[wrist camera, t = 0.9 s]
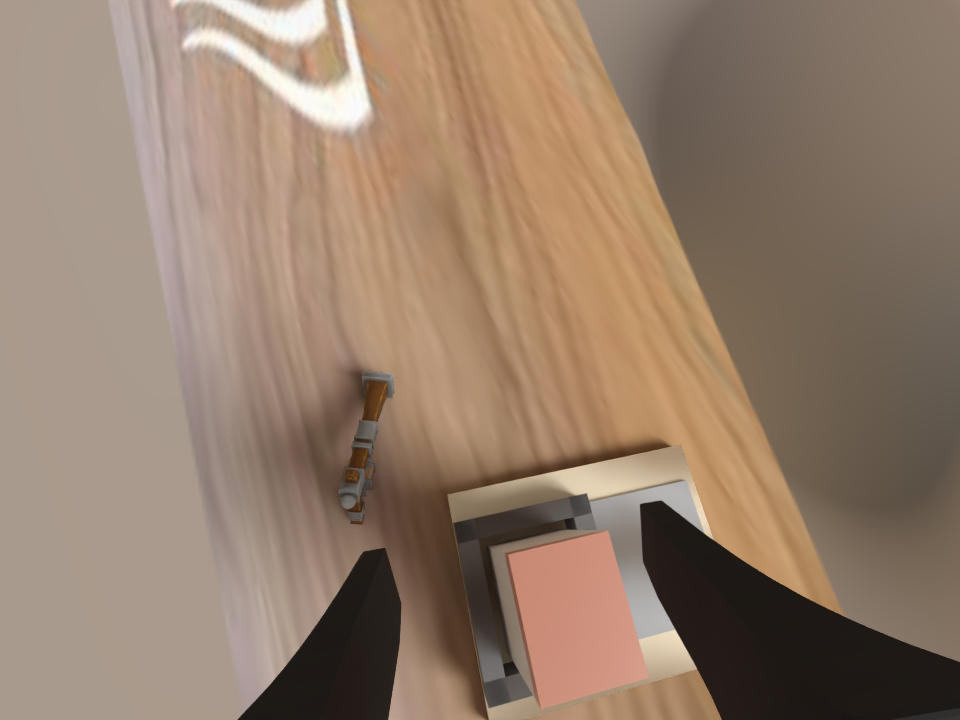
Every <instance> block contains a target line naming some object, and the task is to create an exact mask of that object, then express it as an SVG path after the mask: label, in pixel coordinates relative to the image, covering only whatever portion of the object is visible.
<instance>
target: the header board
mask: <svg viewBox="0 0 960 720" xmlns="http://www.w3.org/2000/svg"><path fill="white" fill-rule="evenodd" d="M447 497H448V503H449V508H450V514H451V519H452V524H453V530H454V535H455V541H456V546H457V552H458V557H459V563H460V568H461V574H462V579H463V585H464V590H465V595H466V601H467V606H468V612H469V617H470V623H471V628H472V634H473V639H474V645H475V650H476V656H477V661H478V666H479V672H480V677H481V683H482V688H483V694H484V699H485V705H486V710H487V716H488V720H525V719H529V718H532V717H535V716H539V715H542V714H546V713H549V712H552V711H556V710H559V709H563V708H566V707H569V706H573V705H576V704H580V703H583V702H586V701H590V700H593V699H597V698H600V697H603V696H607V695H610V694H614V693H617V692H620V691H624V690H627V689H631V688H634V687H637V686H641V685H644V684H648V683H651V682H654V681H658V680H661V679H664V678H668V677H671V676H675V675H678V674H681V673H685V672H688V671H692V670H695V669H697V668H696V666H695V664H694V662H693V661H692V659H691V657H690V655H689V653H688V652H687V650H686V648H685V646H684V644H683V643H682V641H681V639H680V637H679V635H678V634H677V632H676V630H675V628H674V626H673V625H672V623H671V621H670V619H669V617H668V615H667V614H666V612H665V610H664V608H663V606H662V604H661V603H660V601H659V599H658V597H657V595H656V592H655V590H654V588H653V585H652V583H651V581H650V578H649V576H648V573H647V571H646V568H645V566H644V563H643V556H642V537H641V518H640V504H642V503H648V502H654V501H660V500H662V501H663V502H664V503H666V504H667V505H668V506H670V507H671V508H672V509H674V510H675V511H676V512H677V513H679V514H680V515H681V516H682V517H684V518H685V519H686V520H688V521H689V522H690V523H691V524H693V525H694V526H695V527H697V528H698V529H699V530H701V531H702V532H703V533H705V534H706V535H707V536H709V537H710V538H711V539H713V537H712V534H711V531H710V528H709V525H708V522H707V519H706V516H705V513H704V510H703V508H702V505H701V502H700V499H699V496H698V493H697V490H696V487H695V484H694V481H693V478H692V475H691V472H690V469H689V466H688V464H687V461H686V458H685V455H684V452H683V449H682V446H681V445H677V446H672V447H668V448H663V449H658V450H654V451H649V452H644V453H640V454H635V455H630V456H626V457H621V458H616V459H611V460H607V461H602V462H597V463H593V464H588V465H583V466H579V467H574V468H569V469H565V470H560V471H555V472H551V473H546V474H541V475H537V476H532V477H527V478H523V479H518V480H513V481H508V482H504V483H499V484H494V485H490V486H485V487H480V488H476V489H471V490H466V491H462V492H457V493H452V494H448V495H447ZM556 529H566V530H598V531H608V532H609V535H610V539H611V543H612V546H613V550H614V553H615V557H616V561H617V564H618V568H619V571H620V575H621V579H622V582H623V586H624V589H625V593H626V597H627V600H628V604H629V607H630V611H631V615H632V618H633V622H634V625H635V629H636V632H637V636H638V640H639V643H640V647H641V650H642V654H643V658H644V661H645V665H646V668H647V672H648V676H649V678H646V679H643V680H640V681H636V682H633V683H629V684H626V685H622V686H619V687H616V688H612V689H609V690H605V691H602V692H599V693H595V694H592V695H588V696H585V697H581V698H578V699H575V700H571V701H568V702H564V703H561V704H558V705H554V706H551V707H547V708H544V709H541V708H540V706H539V705H538V703H537V701H536V700H535V698H534V696H533V694H532V693H531V691H530V689H529V688H528V686H527V684H526V682H525V681H524V679H523V677H522V676H521V674H520V672H519V670H518V669H517V667H516V665H515V664H514V662H513V660H512V658H511V657H510V655H509V653H508V652H507V648H506V643H505V638H504V633H503V628H502V623H501V618H500V613H499V608H498V603H497V598H496V593H495V588H494V583H493V578H492V573H491V568H490V563H489V558H488V553H487V548H486V546H488V545H492V544H496V543H501V542H505V541H509V540H514V539H518V538H522V537H526V536H531V535H535V534H539V533H544V532H548V531H552V530H556Z"/></svg>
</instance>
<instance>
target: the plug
mask: <svg viewBox="0 0 960 720" xmlns="http://www.w3.org/2000/svg"><path fill="white" fill-rule="evenodd" d="M486 548H487V553H488V558H489V563H490V568H491V573H492V578H493V583H494V588H495V593H496V598H497V603H498V608H499V613H500V618H501V623H502V628H503V633H504V638H505V643H506V648H507V652H508V653H509V655H510V657H511V658H512V660H513V662H514V664H515V665H516V667H517V669H518V670H519V672H520V674H521V676H522V677H523V679H524V681H525V682H526V684H527V686H528V688H529V689H530V691H531V693H532V694H533V696H534V698H535V700H536V701H537V703H538V705H539V706H540V708H541V709H544V708H547V707H551V706H554V705H558V704H561V703H564V702H568V701H571V700H575V699H578V698H581V697H585V696H588V695H592V694H595V693H599V692H602V691H605V690H609V689H612V688H616V687H619V686H622V685H626V684H629V683H633V682H636V681H640V680H643V679H646V678H649V676H648V672H647V668H646V665H645V661H644V658H643V654H642V650H641V647H640V643H639V640H638V636H637V632H636V629H635V625H634V622H633V618H632V615H631V611H630V607H629V604H628V600H627V597H626V593H625V589H624V586H623V582H622V579H621V575H620V571H619V568H618V564H617V561H616V557H615V553H614V550H613V546H612V543H611V539H610V535H609V532H608V531H598V530H566V529H556V530H552V531H548V532H544V533H539V534H535V535H531V536H526V537H522V538H518V539H514V540H509V541H505V542H501V543H496V544H492V545H488V546H486Z"/></svg>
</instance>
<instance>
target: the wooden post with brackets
mask: <svg viewBox="0 0 960 720" xmlns="http://www.w3.org/2000/svg"><path fill="white" fill-rule="evenodd" d="M362 373H363V376H362V384H363V393H364V395H366V399H365V407H364V413H363V418H362V420H359V425H358V429H357V432H356V434H355V436H354V441H355V442H354V441H353V444H352V457H351V460H350V464H349V467H345V471H344V475H343V479H342V482H341V485H340V487H339V489H338V493H339V498H340V504H341V506H342V507H343V508H344V509H348V511H347V512H348V518H350V521H351V524H363V519H364V509H365V506H364V502H363V499H362V497H364V496H366V493H365V490H372V480H371V479H372V476H373V474H374V472H375V468H374V463H373V461H372V459H371V456H372V454H373V450H372V449H374V442H375V438H376V435H377V433H378V428H377V422H378V418H379V416H380V413H381V410H382V407H383V404H384V402H385V400H386V398H392V396H393V394H394V374H386V373H377V372H367V371H362Z"/></svg>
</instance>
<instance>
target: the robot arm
mask: <svg viewBox="0 0 960 720" xmlns="http://www.w3.org/2000/svg"><path fill="white" fill-rule="evenodd" d="M640 518H641V537H642V556H643V563H644V566H645V568H646V571H647V573H648V576H649V578H650V581H651V583H652V585H653V588H654V590H655V592H656V595H657V597H658V599H659V601H660V603H661V604H662V606H663V608H664V610H665V612H666V614H667V615H668V617H669V619H670V621H671V623H672V625H673V626H674V628H675V630H676V632H677V634H678V635H679V637H680V639H681V641H682V643H683V644H684V646H685V648H686V650H687V652H688V653H689V655H690V657H691V659H692V661H693V662H694V664H695V666H696V668H697V670H698V671H699V673H700V675H701V677H702V679H703V681H704V683H705V685H706V687H707V688H708V690H709V692H710V694H711V696H712V699H713V701H714V703H715V705H716V707H717V710H718V712H719V714H720V716H721V719H722V720H960V662H958V661H955V660H952V659H949V658H946V657H943V656H941V655H938V654H935V653H932V652H930V651H927V650H924V649H921V648H918V647H915V646H913V645H910V644H907V643H905V642H902V641H900V640H897V639H895V638H892V637H890V636H888V635H885V634H883V633H880V632H878V631H875V630H873V629H871V628H868V627H866V626H864V625H861V624H859V623H857V622H855V621H852V620H850V619H848V618H846V617H844V616H842V615H840V614H838V613H835V612H833V611H831V610H829V609H827V608H825V607H823V606H821V605H819V604H817V603H815V602H813V601H811V600H809V599H807V598H805V597H803V596H801V595H800V594H798V593H796V592H794V591H792V590H791V589H789V588H787V587H785V586H784V585H782V584H780V583H778V582H776V581H775V580H773V579H771V578H770V577H768V576H766V575H765V574H763V573H761V572H760V571H758V570H757V569H755V568H753V567H752V566H750V565H749V564H747V563H746V562H744V561H743V560H741V559H740V558H738V557H737V556H735V555H734V554H732V553H731V552H729V551H728V550H727V549H725V548H724V547H722V546H721V545H720V544H718V543H717V542H715V541H714V540H713V539H711V538H710V537H709V536H707V535H706V534H705V533H703V532H702V531H701V530H699V529H698V528H697V527H695V526H694V525H693V524H691V523H690V522H689V521H688V520H686V519H685V518H684V517H682V516H681V515H680V514H679V513H677V512H676V511H675V510H674V509H672V508H671V507H670V506H668V505H667V504H666V503H664V502H663V501H662V500H660V501H654V502H648V503H642V504H640ZM400 626H401V601H400V597H399V594H398V590H397V587H396V584H395V580H394V577H393V573H392V570H391V566H390V563H389V559H388V556H387V553H386V549H385V548H382V549H376V550H370V551H365V552H363V553H362V555H361V556H360V558H359V559H358V561H357V562H356V564H355V566H354V567H353V569H352V571H351V572H350V574H349V576H348V577H347V579H346V581H345V582H344V584H343V585H342V587H341V589H340V590H339V592H338V593H337V595H336V596H335V598H334V600H333V601H332V603H331V604H330V606H329V607H328V609H327V610H326V612H325V613H324V615H323V616H322V618H321V619H320V621H319V622H318V624H317V625H316V626H315V628H314V629H313V630H312V632H311V633H310V635H309V636H308V637H307V639H306V640H305V642H304V643H303V644H302V646H301V647H300V648H299V650H298V651H297V652H296V654H295V655H294V656H293V658H292V659H291V660H290V661H289V663H288V664H287V665H286V666H285V668H284V669H283V670H282V671H281V672H280V674H279V675H278V676H277V677H276V678H275V680H274V681H273V682H272V683H271V684H270V685H269V687H268V688H267V689H266V690H265V691H264V692H263V693H262V694H261V695H260V696H259V697H258V698H257V700H256V701H255V702H254V703H253V704H252V705H251V706H250V707H249V708H248V709H247V710H246V711H245V712H244V713H243V714H242V715H241V717H240V718H239V719H238V720H388V717H389V710H390V704H391V697H392V691H393V684H394V678H395V671H396V664H397V657H398V651H399V643H400Z"/></svg>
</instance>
